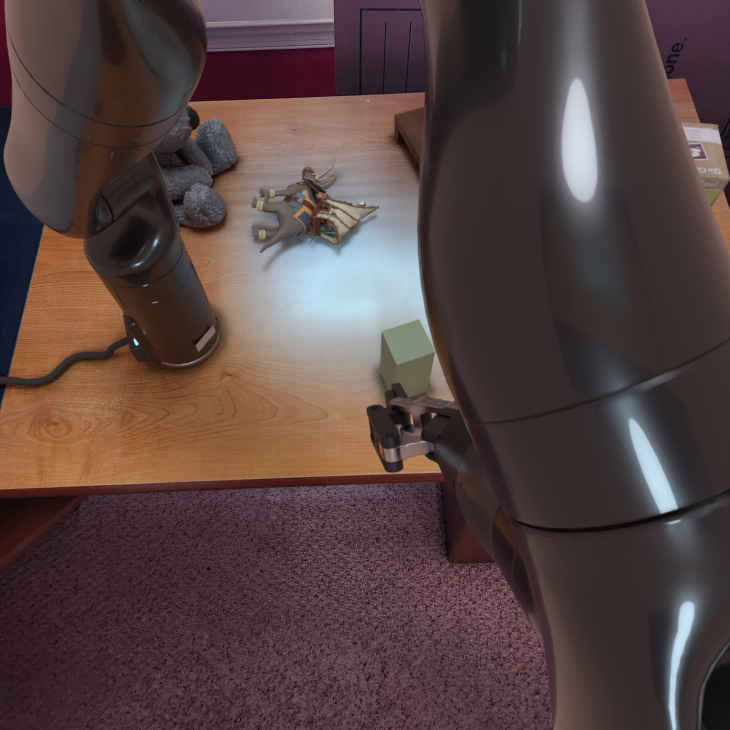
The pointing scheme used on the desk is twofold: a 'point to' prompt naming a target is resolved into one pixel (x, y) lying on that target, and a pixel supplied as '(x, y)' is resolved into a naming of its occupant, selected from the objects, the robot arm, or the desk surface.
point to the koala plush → (195, 167)
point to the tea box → (708, 157)
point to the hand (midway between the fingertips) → (448, 385)
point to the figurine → (308, 211)
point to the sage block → (407, 357)
